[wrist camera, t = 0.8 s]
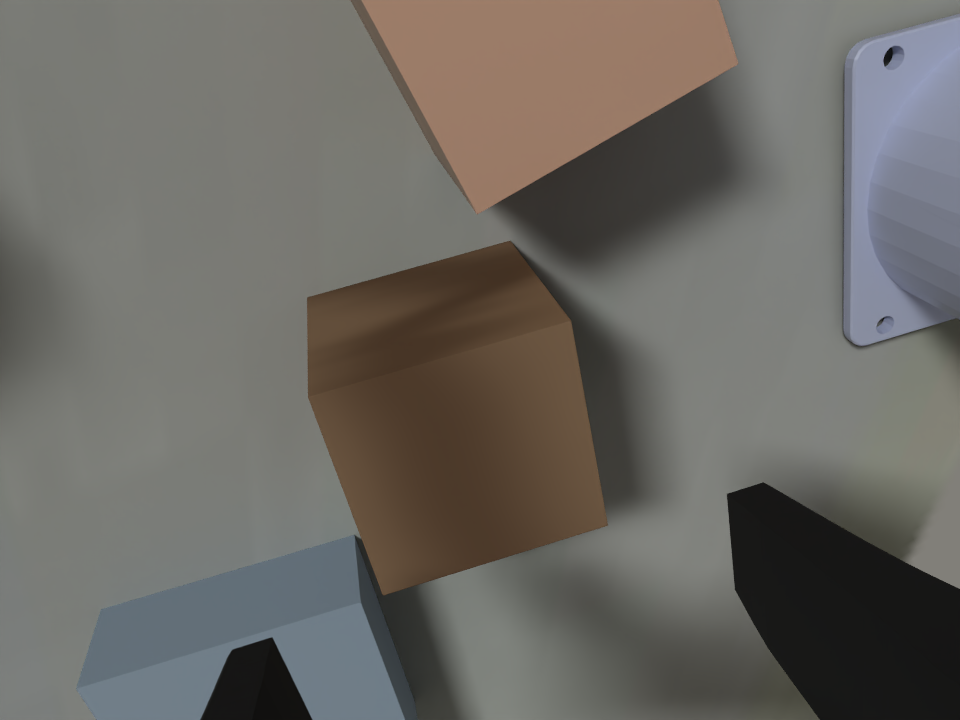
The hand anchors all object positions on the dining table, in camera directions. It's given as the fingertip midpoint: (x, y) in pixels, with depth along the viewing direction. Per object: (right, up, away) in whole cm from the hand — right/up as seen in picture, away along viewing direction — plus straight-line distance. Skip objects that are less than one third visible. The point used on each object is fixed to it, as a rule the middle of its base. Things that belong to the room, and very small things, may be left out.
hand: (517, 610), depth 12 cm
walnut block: (-2, +4, +8) cm, 9 cm away
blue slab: (-7, -5, +11) cm, 14 cm away
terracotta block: (-1, +12, +4) cm, 12 cm away
